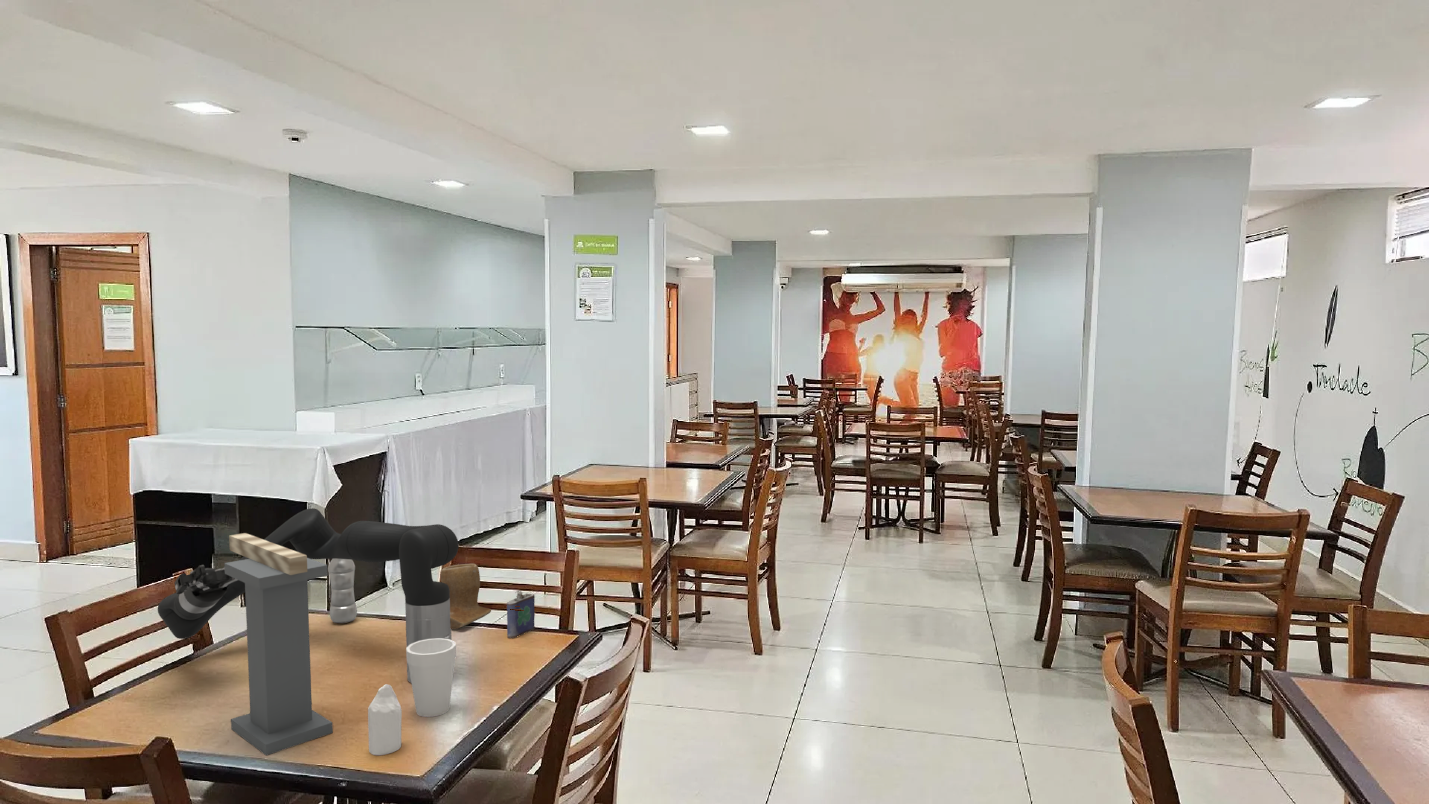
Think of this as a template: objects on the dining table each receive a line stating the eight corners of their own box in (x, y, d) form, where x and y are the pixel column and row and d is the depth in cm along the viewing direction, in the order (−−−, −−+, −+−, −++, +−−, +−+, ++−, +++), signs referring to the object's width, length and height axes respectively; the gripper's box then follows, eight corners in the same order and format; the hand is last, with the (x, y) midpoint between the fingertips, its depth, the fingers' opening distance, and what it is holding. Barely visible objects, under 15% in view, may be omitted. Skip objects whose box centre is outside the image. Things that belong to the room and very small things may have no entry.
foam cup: (406, 704, 176) (404, 642, 175) (454, 697, 180) (452, 635, 179) (410, 723, 168) (408, 657, 167) (459, 715, 171) (458, 650, 170)
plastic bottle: (347, 626, 225) (345, 550, 223) (324, 625, 226) (321, 549, 225) (362, 619, 231) (360, 544, 230) (339, 617, 232) (337, 543, 231)
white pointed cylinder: (381, 675, 160) (407, 678, 159) (383, 739, 161) (409, 742, 160) (359, 688, 155) (386, 691, 153) (361, 753, 156) (388, 757, 154)
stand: (332, 732, 164) (327, 565, 162) (266, 755, 155) (259, 578, 153) (295, 709, 174) (290, 551, 172) (231, 729, 165) (224, 563, 163)
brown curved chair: (459, 611, 238) (458, 556, 237) (497, 615, 234) (496, 560, 233) (423, 628, 224) (422, 570, 223) (463, 633, 220) (461, 574, 219)
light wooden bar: (307, 571, 157) (306, 555, 157) (290, 575, 155) (289, 558, 154) (245, 547, 175) (245, 533, 175) (229, 550, 173) (229, 535, 173)
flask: (512, 639, 215) (511, 596, 214) (503, 637, 216) (502, 595, 216) (537, 628, 223) (536, 587, 222) (528, 627, 224) (527, 586, 224)
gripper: (162, 581, 184) (183, 554, 175) (234, 568, 195) (258, 542, 185) (169, 615, 182) (191, 589, 173) (242, 600, 193) (266, 575, 183)
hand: (226, 565), depth 179 cm, fingers open, 8 cm apart
